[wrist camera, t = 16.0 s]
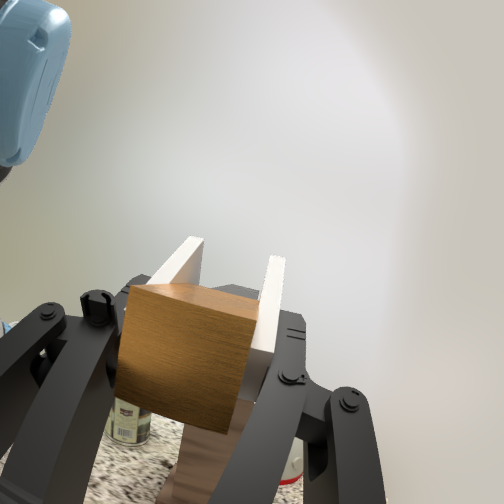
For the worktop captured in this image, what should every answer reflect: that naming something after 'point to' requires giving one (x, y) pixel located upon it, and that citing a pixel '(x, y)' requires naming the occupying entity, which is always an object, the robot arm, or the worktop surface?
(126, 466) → the worktop surface
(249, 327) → the long square bar
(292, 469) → the kitchen timer
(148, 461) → the worktop surface
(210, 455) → the stand
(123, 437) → the coffee can
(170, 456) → the worktop surface
